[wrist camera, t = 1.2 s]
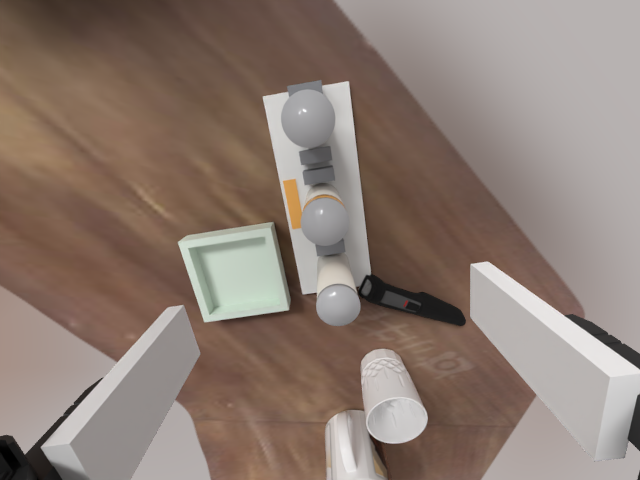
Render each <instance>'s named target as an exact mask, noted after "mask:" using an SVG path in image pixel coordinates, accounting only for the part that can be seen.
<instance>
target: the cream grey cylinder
mask: <svg viewBox="0 0 640 480" xmlns="http://www.w3.org/2000/svg"><path fill="white" fill-rule="evenodd" d="M281 123H282V128H283V130H284V132H285V134H286V136H287V137H288V138H289V140H290V141H292V142H293V143H294V144H296V145H298V146H300V147H304V148H313V147H317V146H319V145H321V144H323V143H324V142H325V141H326V140H327V139H328V138H329V137H330V136H331V134H332V132H333V130H334V126H335V112H334V109H333V106H332V104H331V102H330V101H329V100H328V98H327V97H326V96H324V95H323V94H322V93H320V92H318V91H315V90H309V89H306V90H301V91H298V92H296V93H294V94H293V95H291V96H290V97H289V98H288V100H287V101H286V102H285V104H284V106H283V109H282V113H281Z"/></svg>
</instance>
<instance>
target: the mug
mask: <svg viewBox="0 0 640 480" xmlns="http://www.w3.org/2000/svg"><path fill="white" fill-rule="evenodd" d="M325 465H326V480H392V477H391V472H390V468H389V463H388V458H387V454H386V449H385V445H384V442H382V441H379V440H377V439H376V438H374V437H373V436H372V435H371V434H370V433H369V431H368V429H367V426H366V419H365V411H361V410H347V411H343V412H340V413H338V414H336V415H335V416H333V417H332V418H331V419H330V420H329V421H328V423H327V425H326V428H325Z"/></svg>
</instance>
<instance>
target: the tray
mask: <svg viewBox="0 0 640 480" xmlns="http://www.w3.org/2000/svg"><path fill="white" fill-rule="evenodd" d="M178 244H179V247H180V250H181V253H182V256H183V259H184V262H185V265H186V268H187V271H188V274H189V277H190V280H191V283H192V286H193V289H194V292H195V295H196V298H197V301H198V304H199V307H200V310H201V313H202V316H203V319H204V322H210V321H217V320H224V319H231V318H238V317H245V316H252V315H259V314H266V313H273V312H280V311H287V310H289V307H290V301H291V299H290V294H289V290H288V285H287V280H286V276H285V271H284V267H283V262H282V257H281V253H280V248H279V244H278V239H277V234H276V230H275V225H274V222H269V223H262V224H256V225H250V226H243V227H237V228H231V229H225V230H218V231H212V232H206V233H199V234H193V235H187V236H186V237H184V238H183V239H182V240H180V241H179V242H178Z"/></svg>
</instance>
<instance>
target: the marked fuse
mask: <svg viewBox="0 0 640 480" xmlns="http://www.w3.org/2000/svg"><path fill="white" fill-rule="evenodd" d="M348 228H349V216H348V213H347V211H346V208H345V206H344V205H343V202H342V200H341V197H340V195H339V192H338V190H337V189H336V188H335V187H334V186H333V185H331V184H328V183H318V184H315V185H314V186H312V187H311V188H310V189H309V191H308V193H307V195H306V200H305V205H304V208H303V212H302V216H301V229H302V232H303V234H304V235H305V237H306V238H307V239H308V240H309V241H311V242H312V243H314V244H317V245H321V246H329V245H333V244H335V243H337V242H339V241H340V240H341V239H342V238H343V237H344V236H345V235H346V233H347V231H348Z"/></svg>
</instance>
